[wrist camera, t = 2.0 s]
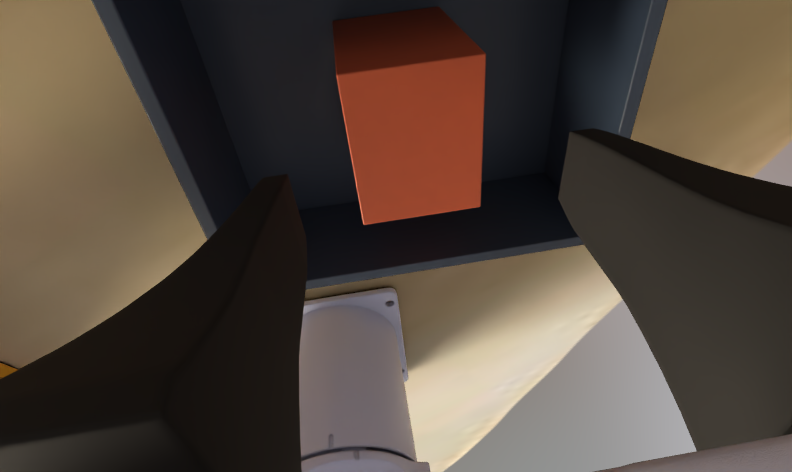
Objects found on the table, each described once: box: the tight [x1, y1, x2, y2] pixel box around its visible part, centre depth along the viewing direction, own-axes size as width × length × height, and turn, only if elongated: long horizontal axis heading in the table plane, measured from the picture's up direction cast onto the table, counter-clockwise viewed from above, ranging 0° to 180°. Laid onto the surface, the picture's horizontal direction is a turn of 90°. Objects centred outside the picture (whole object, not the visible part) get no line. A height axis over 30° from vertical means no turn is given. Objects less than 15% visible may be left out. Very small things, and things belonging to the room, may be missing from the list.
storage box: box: [91, 0, 668, 289], centre depth 16 cm, size 15×12×6 cm
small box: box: [332, 7, 486, 225], centre depth 15 cm, size 5×4×6 cm
